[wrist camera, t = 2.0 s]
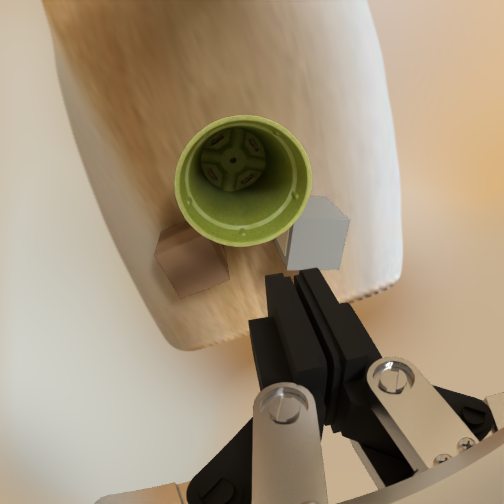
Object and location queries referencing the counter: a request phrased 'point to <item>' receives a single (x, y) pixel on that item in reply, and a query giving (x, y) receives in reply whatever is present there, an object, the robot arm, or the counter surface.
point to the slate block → (315, 237)
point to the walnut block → (191, 260)
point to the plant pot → (231, 174)
